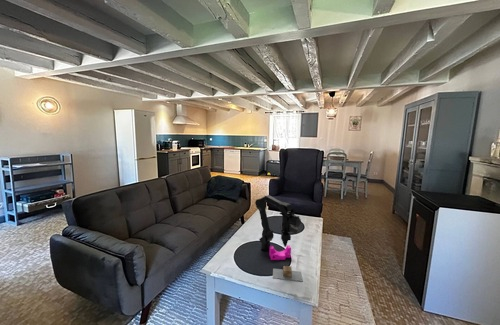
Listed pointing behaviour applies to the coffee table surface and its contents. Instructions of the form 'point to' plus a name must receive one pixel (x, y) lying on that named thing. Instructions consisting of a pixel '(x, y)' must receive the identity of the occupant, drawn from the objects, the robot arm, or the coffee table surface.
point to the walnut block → (287, 271)
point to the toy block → (280, 253)
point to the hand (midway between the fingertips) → (285, 243)
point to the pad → (295, 277)
